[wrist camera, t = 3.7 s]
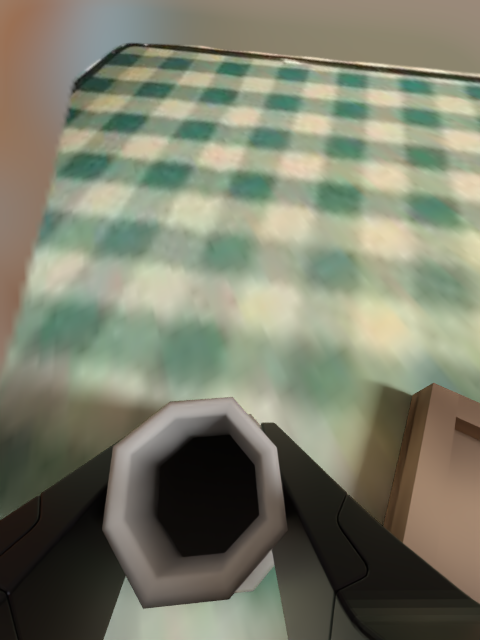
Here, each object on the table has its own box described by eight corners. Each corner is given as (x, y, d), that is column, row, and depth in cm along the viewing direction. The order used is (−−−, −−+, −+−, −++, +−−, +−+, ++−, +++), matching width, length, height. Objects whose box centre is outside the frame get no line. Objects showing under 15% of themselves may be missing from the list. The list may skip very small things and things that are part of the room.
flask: (126, 448, 15) (-29, 378, 6) (258, 393, 16) (284, 275, 8) (165, 638, 11) (-65, 1097, 3) (329, 545, 13) (520, 642, 4)
